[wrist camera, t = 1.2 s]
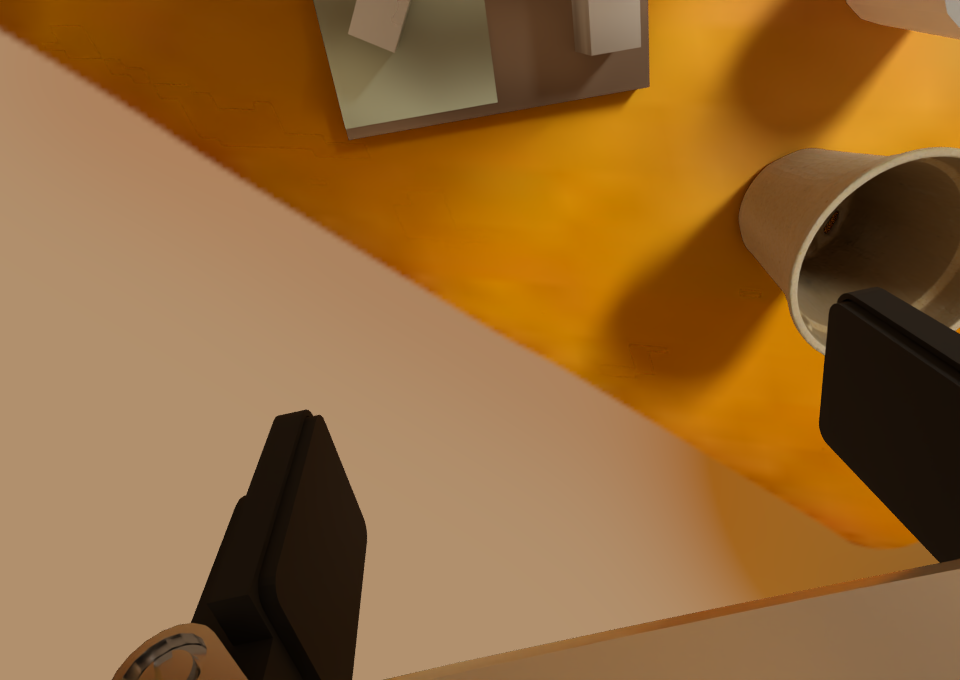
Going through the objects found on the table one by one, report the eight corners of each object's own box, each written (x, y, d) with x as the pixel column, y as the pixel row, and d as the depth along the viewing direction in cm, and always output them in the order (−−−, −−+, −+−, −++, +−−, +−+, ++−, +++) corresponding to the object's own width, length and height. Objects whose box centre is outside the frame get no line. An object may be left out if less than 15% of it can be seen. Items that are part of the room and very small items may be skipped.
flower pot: (696, 296, 34) (774, 375, 27) (715, 123, 30) (815, 160, 22) (856, 279, 35) (977, 353, 27) (899, 106, 30) (1058, 137, 23)
